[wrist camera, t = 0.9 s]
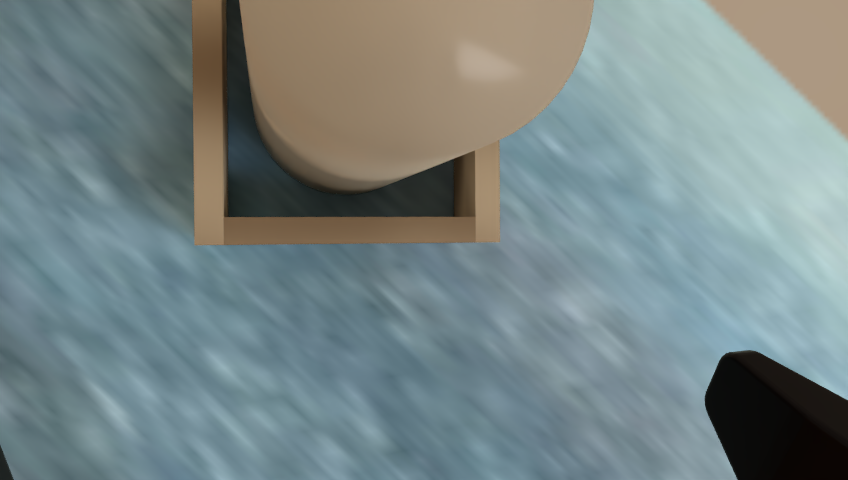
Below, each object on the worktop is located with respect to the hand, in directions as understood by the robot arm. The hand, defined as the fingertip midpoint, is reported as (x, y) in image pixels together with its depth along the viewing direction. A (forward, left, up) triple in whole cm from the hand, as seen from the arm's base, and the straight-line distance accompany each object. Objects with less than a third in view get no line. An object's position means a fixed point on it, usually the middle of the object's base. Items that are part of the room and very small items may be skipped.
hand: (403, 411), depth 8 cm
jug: (+6, -2, -15) cm, 16 cm away
